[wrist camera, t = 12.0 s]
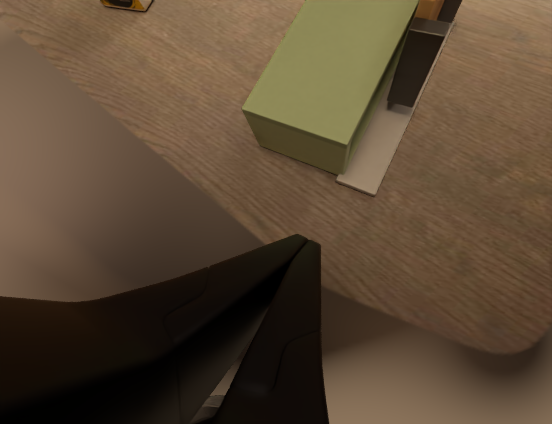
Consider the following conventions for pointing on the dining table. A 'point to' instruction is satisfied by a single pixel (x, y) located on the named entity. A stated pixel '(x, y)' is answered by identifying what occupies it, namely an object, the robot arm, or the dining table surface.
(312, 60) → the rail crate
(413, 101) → the sliding door
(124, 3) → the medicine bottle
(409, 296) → the dining table surface
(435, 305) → the dining table surface
